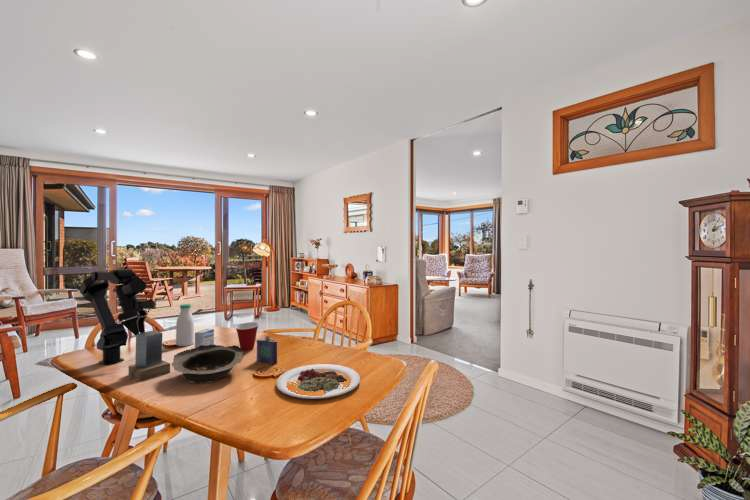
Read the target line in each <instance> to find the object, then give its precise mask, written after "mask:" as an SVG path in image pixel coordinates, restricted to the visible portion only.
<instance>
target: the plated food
mask: <svg viewBox="0 0 750 500" xmlns="http://www.w3.org/2000/svg"><path fill="white" fill-rule="evenodd" d="M321 370H325V371H328V372H322V373H319V372H317V371H321ZM334 371H336V372H341V373H343V374H345V375H347V376H348V377H349V378H350V379H351V383H350V385H349V387H347V388H346V387H343V384H341V383H342V382H344V381H347V380H348V379H345V378H344V377H343V375H337V373H336V372H334ZM294 380H295V381H294ZM297 380H300V381H301V382H300V383H299V384H298V385H297V386H296V387H298V388H299V389H301V390H302V391H303V390H304V391H310V392H311V391H314V392H316V391H318V390H323V391H324V393H326V394H325V395H322V396H307V395H300V394H296V393H294V392H291V391H290V390H288V388H287V387H286V386H287V382H289V381H290V382H294V383H296V381H297ZM360 381H361V378H360V374H359V373H358V372H357V371H356V370H355V369H352V368H350V367H347V366H343V365H340V364H332V363H329V364H328V363H321V364H320V363H317V364H308V365H303V366H298V367H294V368H292V369H289V370H287V371H285V372H284V373H282V374H281V375H280V376H279V377H278V378H277V380H276V388H277V389H278V390H279V391H280V392H281V393H283V394H285V395H288V396H290V397H295V398H299V399H312V400H313V399H315V400H316V399H328V398H333V397H336V396H341V395H344V394H346V393H349V392H351V391H352V390H354V389H355V388H356V387H358V386H359V384H360ZM290 382H289V383H290ZM297 382H298V381H297ZM339 382H340V383H339ZM290 384H291V383H290ZM296 384H297V383H296ZM294 385H295V384H294ZM340 386H341V387H340ZM346 386H347V385H346ZM342 387H343V388H344V389H342ZM339 388H340V389H339ZM345 388H346V389H345ZM296 392H297V391H296Z"/></svg>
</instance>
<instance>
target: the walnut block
mask: <svg viewBox="0 0 750 500" xmlns="http://www.w3.org/2000/svg"><path fill="white" fill-rule="evenodd" d="M170 373H171V363H170V362H168V361H164V360H163V359H162V363H161V364H158V365H155V366H152V367H149V368H142V367H138V366H135V363H134V364H131V365H130V364H129V365H128V376H129V377H131V378H133V379H135V380H137V381H139V382H143V381H147V380H150V379H153V378H156V377H159V376H164V375H167V374H170Z"/></svg>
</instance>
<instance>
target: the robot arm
mask: <svg viewBox="0 0 750 500" xmlns="http://www.w3.org/2000/svg"><path fill="white" fill-rule="evenodd" d="M96 281H97V282H96ZM98 281H99V282H98ZM102 281H103V282H102ZM109 283H111V284H113V285H115V286H114V289H113V293H115V294H116V297H117V298H118V302H119V303H118V307H121V310H122V312H121V313H119V314H118V315H117V320H118V322H116V319H115V318H114V316H113V313H112V311H111V308H110V306H109V303H108V301H107V300H106V297H105V296H106V295H107V292H108V290H107V289H108V288H109ZM145 290H147V283H146V282H145V281H144V280H143V279H141V278H140V276H139V275H137V274H136V273H135V272H134V271H133V269H132V268H123V269H112V270H110V271H107V270H106V271H105V270H99V271H98V270H96V271H92V272H91V274H90V275H89V276H88V277H87V278H85V279H84V280H83V281H82V282H81V285H80V287H79V293H80V295H81V296H82V298H83V299H84V300H85V301H88V302H89V303H90V304H91V305H92V307H93V310H94V312H95V315H96V317H97V320H98V322H99V324H100V327H101V332H100V334H99V338H98V340H97V342H96V350H99V351H102V360H99V361H98V363H99V364H102V365H105V366H106V365H107V366H108V365H112V364H115V363H119V362H124V361H125V359H124V358H121V347H124V346H125V347H126V345H127V342H128V337H129V334H128V331H130V333H132V334H133V335H134V336H135V337H136V334H140V333H144V332H146V330H145V321H146V319H147V318H148V315H149V313H148V311H147V310H148V309H149V310H156V306H157V301H156V300H154V299H151V298H150V299H147V300H145V301H144V300H143V301H142V300H140V298H137V295H138V294H141V293H143V292H144V291H145ZM146 309H147V310H146ZM126 329H127V330H128V331H126Z"/></svg>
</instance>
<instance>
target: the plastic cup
mask: <svg viewBox="0 0 750 500" xmlns="http://www.w3.org/2000/svg"><path fill="white" fill-rule="evenodd" d="M259 324H260V323H259V322H252V321H251V322H243V323H239V324H237V325H235V326H234V328H235V330H236V333H237V337H238V343H239V348H241V349H242V350H243V352H249V351H250V352H251V351H252V350H254V348H255V343H256V340H257V332H258V328H259Z"/></svg>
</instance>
